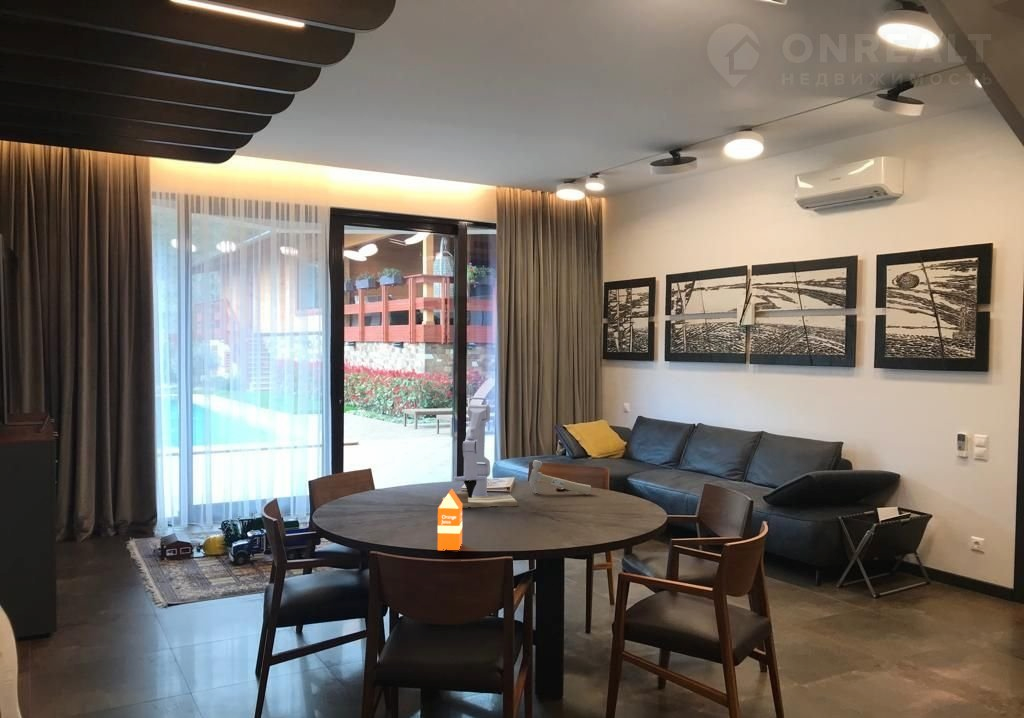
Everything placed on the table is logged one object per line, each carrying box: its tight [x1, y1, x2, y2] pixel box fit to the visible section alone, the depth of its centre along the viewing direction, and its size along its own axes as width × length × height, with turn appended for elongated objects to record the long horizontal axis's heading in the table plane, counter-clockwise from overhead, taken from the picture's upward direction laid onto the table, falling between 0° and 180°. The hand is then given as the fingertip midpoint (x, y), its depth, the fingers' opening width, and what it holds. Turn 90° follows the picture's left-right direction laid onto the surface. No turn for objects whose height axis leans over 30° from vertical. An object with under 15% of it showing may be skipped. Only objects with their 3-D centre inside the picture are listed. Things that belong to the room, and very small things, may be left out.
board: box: [441, 494, 518, 509], centre depth 319 cm, size 14×32×2 cm, turn 102°
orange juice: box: [437, 488, 463, 551], centre depth 247 cm, size 8×9×20 cm
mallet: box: [454, 490, 468, 503], centre depth 316 cm, size 10×5×4 cm, turn 12°
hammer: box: [528, 459, 592, 496], centre depth 343 cm, size 16×5×30 cm
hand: (470, 497), depth 314 cm, fingers closed
